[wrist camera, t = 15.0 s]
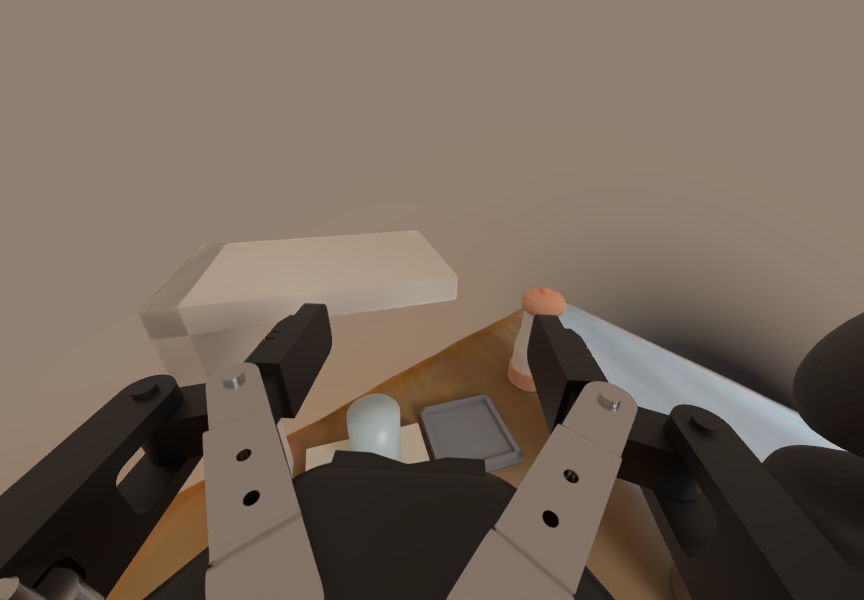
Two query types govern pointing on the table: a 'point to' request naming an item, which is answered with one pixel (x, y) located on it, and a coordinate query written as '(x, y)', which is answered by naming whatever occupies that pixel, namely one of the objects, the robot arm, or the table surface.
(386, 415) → the pale grey cylinder
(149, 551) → the table surface
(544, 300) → the pepper shaker
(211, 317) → the white c-shaped stand
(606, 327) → the table surface
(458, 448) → the tray
